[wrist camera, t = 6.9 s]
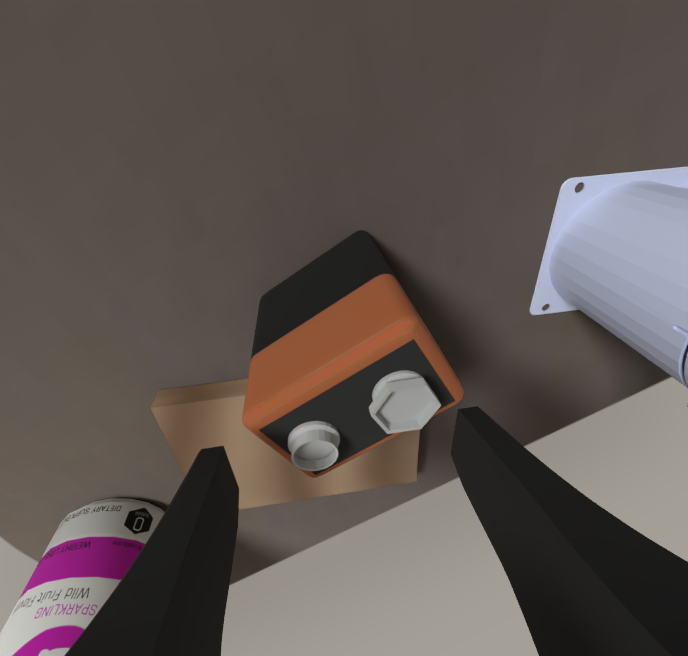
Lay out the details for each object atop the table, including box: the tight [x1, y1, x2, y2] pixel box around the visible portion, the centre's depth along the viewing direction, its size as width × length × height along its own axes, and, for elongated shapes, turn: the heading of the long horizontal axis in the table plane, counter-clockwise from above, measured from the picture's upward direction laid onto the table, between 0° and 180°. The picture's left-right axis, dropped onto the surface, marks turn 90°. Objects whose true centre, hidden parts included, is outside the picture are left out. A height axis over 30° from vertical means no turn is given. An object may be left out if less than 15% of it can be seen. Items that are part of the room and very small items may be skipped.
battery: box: [242, 230, 464, 478], centre depth 15 cm, size 4×7×10 cm, turn 123°
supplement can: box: [0, 498, 165, 656], centre depth 22 cm, size 8×8×15 cm
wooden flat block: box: [151, 379, 420, 509], centre depth 24 cm, size 16×11×2 cm
